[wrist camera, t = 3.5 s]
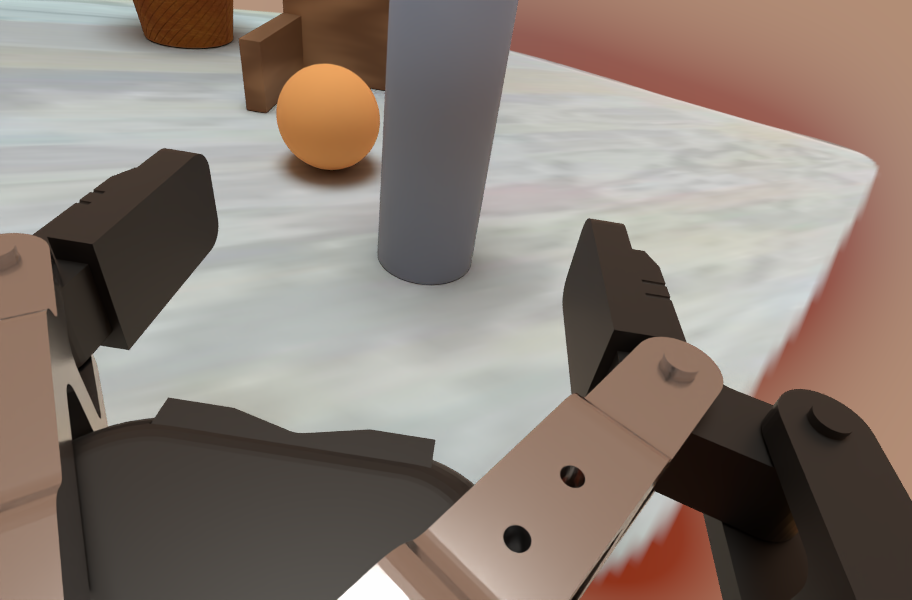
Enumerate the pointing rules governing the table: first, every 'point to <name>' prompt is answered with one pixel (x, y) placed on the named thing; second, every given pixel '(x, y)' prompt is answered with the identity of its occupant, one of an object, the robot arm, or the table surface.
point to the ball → (328, 116)
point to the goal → (314, 45)
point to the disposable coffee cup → (187, 22)
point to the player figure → (439, 131)
